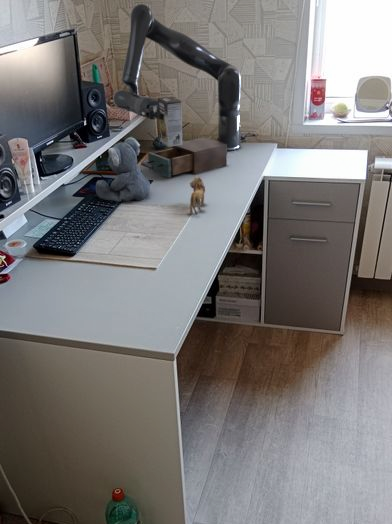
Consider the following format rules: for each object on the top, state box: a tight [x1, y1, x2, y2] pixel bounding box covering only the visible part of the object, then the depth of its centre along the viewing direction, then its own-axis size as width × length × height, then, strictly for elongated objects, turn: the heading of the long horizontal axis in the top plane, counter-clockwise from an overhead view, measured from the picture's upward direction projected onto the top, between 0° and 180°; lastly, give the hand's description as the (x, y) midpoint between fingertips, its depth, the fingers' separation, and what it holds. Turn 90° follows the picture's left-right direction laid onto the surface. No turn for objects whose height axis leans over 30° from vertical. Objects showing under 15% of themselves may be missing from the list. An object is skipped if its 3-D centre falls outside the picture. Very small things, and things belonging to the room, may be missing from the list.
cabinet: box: [171, 136, 228, 175], centre depth 231 cm, size 17×15×9 cm
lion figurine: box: [189, 176, 206, 216], centre depth 191 cm, size 15×5×9 cm, turn 0°
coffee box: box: [156, 96, 184, 148], centre depth 216 cm, size 9×6×16 cm
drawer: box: [140, 147, 193, 179], centre depth 223 cm, size 21×14×7 cm, turn 128°
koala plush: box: [95, 136, 151, 203], centre depth 200 cm, size 17×18×20 cm
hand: (171, 115), depth 214 cm, fingers closed on coffee box, 7 cm apart
